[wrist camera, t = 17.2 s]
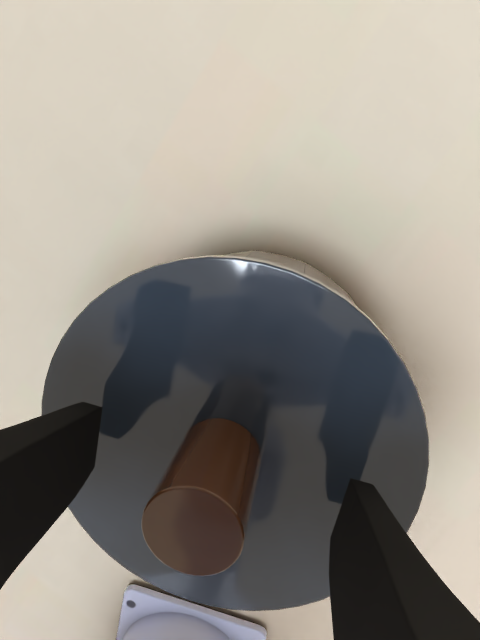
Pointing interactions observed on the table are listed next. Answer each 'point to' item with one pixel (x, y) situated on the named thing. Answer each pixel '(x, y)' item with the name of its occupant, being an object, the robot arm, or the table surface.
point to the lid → (235, 426)
